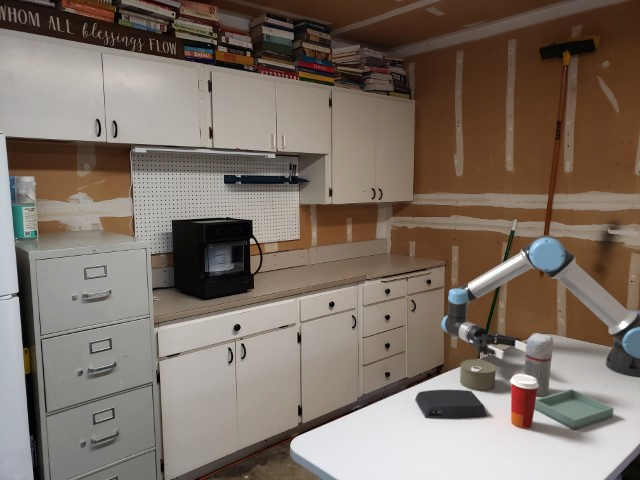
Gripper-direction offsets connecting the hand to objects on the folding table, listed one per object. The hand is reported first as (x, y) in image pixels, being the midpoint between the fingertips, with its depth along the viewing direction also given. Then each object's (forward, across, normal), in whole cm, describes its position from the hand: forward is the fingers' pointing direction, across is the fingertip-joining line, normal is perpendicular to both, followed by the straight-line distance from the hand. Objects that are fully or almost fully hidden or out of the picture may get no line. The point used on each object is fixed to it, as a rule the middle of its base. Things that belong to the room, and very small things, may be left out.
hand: (517, 352), depth 167 cm
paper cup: (+22, +22, -11) cm, 33 cm away
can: (-4, +14, -11) cm, 18 cm away
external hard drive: (+6, +35, -12) cm, 37 cm away
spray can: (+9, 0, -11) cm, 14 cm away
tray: (+24, +2, -11) cm, 26 cm away
